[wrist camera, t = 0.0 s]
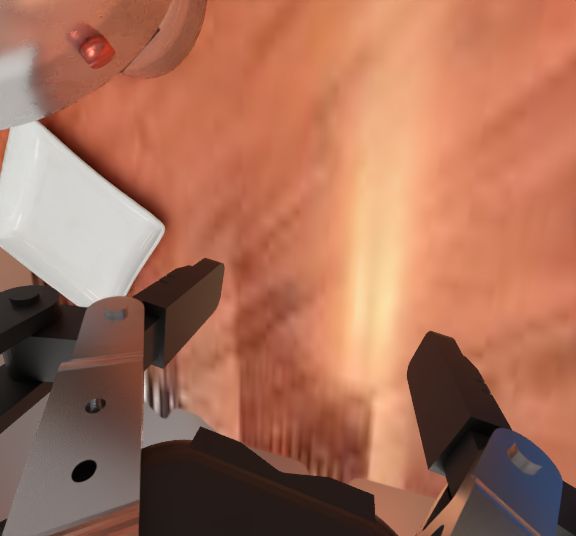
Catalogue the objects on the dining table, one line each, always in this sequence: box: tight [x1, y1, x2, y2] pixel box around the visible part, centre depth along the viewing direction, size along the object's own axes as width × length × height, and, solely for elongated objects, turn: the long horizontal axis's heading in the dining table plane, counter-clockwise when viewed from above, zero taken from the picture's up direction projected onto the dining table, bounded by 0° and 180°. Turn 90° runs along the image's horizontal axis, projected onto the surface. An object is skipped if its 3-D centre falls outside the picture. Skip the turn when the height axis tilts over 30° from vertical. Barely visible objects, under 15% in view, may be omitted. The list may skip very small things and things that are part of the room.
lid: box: [0, 0, 172, 130], centre depth 19 cm, size 22×21×2 cm
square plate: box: [0, 120, 165, 307], centre depth 47 cm, size 27×27×4 cm
